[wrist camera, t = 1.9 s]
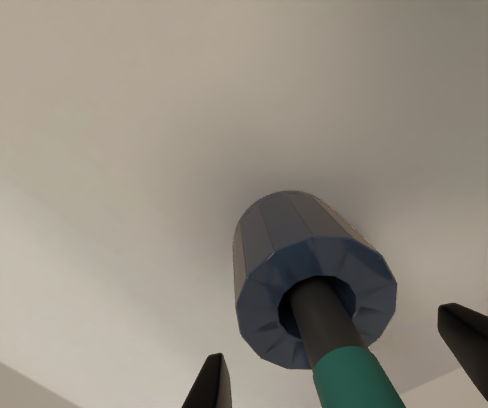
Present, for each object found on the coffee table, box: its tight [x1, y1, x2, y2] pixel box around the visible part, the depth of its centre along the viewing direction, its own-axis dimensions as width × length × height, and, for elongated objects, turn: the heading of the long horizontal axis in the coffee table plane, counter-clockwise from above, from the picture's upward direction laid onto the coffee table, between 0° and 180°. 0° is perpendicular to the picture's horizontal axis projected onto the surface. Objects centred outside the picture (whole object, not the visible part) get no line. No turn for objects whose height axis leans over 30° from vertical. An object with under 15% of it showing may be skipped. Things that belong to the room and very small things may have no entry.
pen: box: [286, 276, 406, 408], centre depth 9 cm, size 2×2×9 cm
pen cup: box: [233, 191, 397, 369], centre depth 11 cm, size 5×6×5 cm
